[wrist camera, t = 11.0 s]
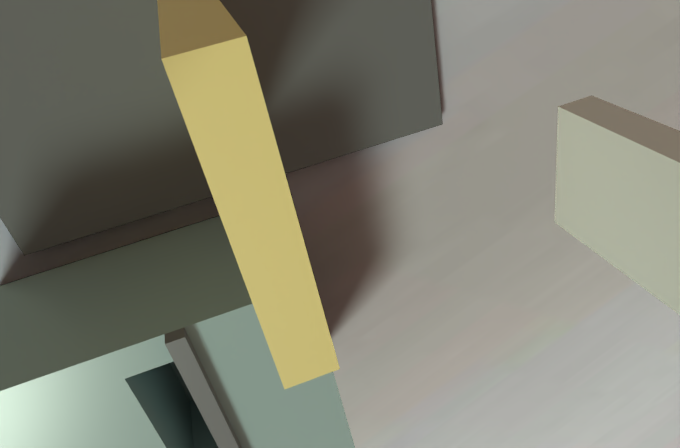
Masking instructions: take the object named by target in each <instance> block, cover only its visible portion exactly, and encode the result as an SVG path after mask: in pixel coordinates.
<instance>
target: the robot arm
mask: <svg viewBox="0 0 680 448" xmlns="http://www.w3.org/2000/svg"><path fill="white" fill-rule="evenodd" d="M555 223H557V224H558V225H559V226H561V227H562V228H563V229H565V230H566V231H567V232H569V233H570V234H571V235H573V236H574V237H575V238H577V239H578V240H579V241H581V242H582V243H583V244H585V245H586V246H587V247H589V248H590V249H591V250H593V251H594V252H596V253H597V254H598V255H600V256H601V257H602V258H604V259H605V260H606V261H608V262H609V263H610V264H612V265H613V266H614V267H616V268H617V269H618V270H620V271H621V272H622V273H624V274H625V275H626V276H628V277H629V278H630V279H632V280H633V281H635V282H636V283H637V284H639V285H640V286H641V287H643V288H644V289H645V290H647V291H648V292H649V293H651V294H652V295H653V296H655V297H656V298H657V299H659V300H660V301H661V302H663V303H664V304H665V305H667V306H668V307H669V308H671V309H672V310H674V311H675V312H676V313H678V314H679V315H680V131H678V130H676V129H673V128H671V127H668V126H666V125H663V124H661V123H658V122H656V121H654V120H651V119H649V118H646V117H644V116H641V115H639V114H636V113H634V112H631V111H629V110H626V109H624V108H621V107H619V106H616V105H614V104H611V103H609V102H606V101H604V100H602V99H599V98H597V97H594V96H589V97H586V98H583V99H580V100H577V101H574V102H571V103H567V104H564V105H561V106H558V128H557V161H556V193H555Z"/></svg>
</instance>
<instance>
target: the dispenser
mask: <svg viewBox="0 0 680 448" xmlns="http://www.w3.org/2000/svg"><path fill="white" fill-rule="evenodd" d="M0 448H355V446H354V443H353V439H352V436H351V432H350V429H349V425H348V422H347V419H346V415H345V412H344V408H343V405H342V401H341V398H340V395H339V391H338V388H337V384H336V381H335V377H334V374H333V372H330V373H328V374H325V375H322V376H320V377H317V378H314V379H312V380H309V381H306V382H304V383H301V384H298V385H296V386H293V387H290V388H288V389H284V387H283V384H282V381H281V379H280V376H279V373H278V371H277V368H276V365H275V363H274V360H273V357H272V355H271V352H270V349H269V347H268V344H267V341H266V338H265V336H264V333H263V330H262V328H261V325H260V322H259V320H258V317H257V314H256V312H255V309H254V306H253V304H252V301H251V298H250V296H249V293H248V290H247V287H246V285H245V282H244V279H243V277H242V274H241V271H240V269H239V266H238V263H237V261H236V258H235V255H234V253H233V250H232V247H231V245H230V242H229V239H228V236H227V234H226V231H225V228H224V226H223V223H222V220H221V218H220V216H217V217H214V218H211V219H208V220H205V221H202V222H199V223H195V224H192V225H189V226H186V227H183V228H180V229H177V230H174V231H170V232H167V233H164V234H161V235H158V236H155V237H152V238H149V239H145V240H142V241H139V242H136V243H133V244H130V245H127V246H124V247H120V248H117V249H114V250H111V251H108V252H105V253H102V254H98V255H95V256H92V257H89V258H86V259H83V260H80V261H77V262H73V263H70V264H67V265H64V266H61V267H58V268H55V269H52V270H48V271H45V272H42V273H39V274H36V275H33V276H30V277H26V278H23V279H20V280H17V281H14V282H11V283H8V284H5V285H1V286H0Z"/></svg>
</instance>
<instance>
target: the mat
mask: <svg viewBox="0 0 680 448" xmlns="http://www.w3.org/2000/svg"><path fill="white" fill-rule="evenodd" d="M220 2H221V3H222V4H223V5H224V7H225V8H226V9H227V11H228V12H229V13H230V15H231V16H232V17H233V19H234V20H235V21H236V23H237V24H238V25H239V27H240V28H241V29H242V30H243V32H244V33H245V34H246V36H247V39H248V43H249V46H250V50H251V54H252V57H253V61H254V64H255V68H256V71H257V75H258V79H259V82H260V86H261V89H262V93H263V96H264V100H265V104H266V107H267V111H268V114H269V118H270V121H271V125H272V129H273V132H274V136H275V139H276V143H277V146H278V150H279V154H280V157H281V161H282V164H283V168H284V172H285V174H286V173H289V172H292V171H295V170H298V169H302V168H305V167H308V166H311V165H314V164H318V163H321V162H324V161H327V160H330V159H334V158H337V157H340V156H343V155H346V154H349V153H353V152H356V151H359V150H362V149H365V148H369V147H372V146H375V145H378V144H381V143H385V142H388V141H391V140H394V139H397V138H400V137H404V136H407V135H410V134H413V133H416V132H420V131H423V130H426V129H429V128H432V127H436V126H439V125H442V124H443V123H442V112H441V102H440V91H439V80H438V70H437V59H436V49H435V38H434V27H433V17H432V6H431V0H220ZM209 197H212V193H211V191H210V188H209V185H208V183H207V180H206V177H205V175H204V172H203V169H202V167H201V164H200V161H199V159H198V156H197V153H196V151H195V148H194V145H193V142H192V140H191V137H190V134H189V132H188V129H187V126H186V124H185V121H184V118H183V116H182V113H181V110H180V108H179V105H178V102H177V100H176V97H175V94H174V91H173V89H172V86H171V83H170V81H169V78H168V75H167V73H166V70H165V67H164V65H163V62H162V59H161V47H160V33H159V18H158V4H157V0H0V218H1V220H2V221H3V223H4V224H5V226H6V227H7V229H8V231H9V232H10V234H11V235H12V237H13V238H14V240H15V241H16V243H17V245H18V246H19V248H20V249H21V251H22V252H23V254H24V255H27V254H31V253H34V252H37V251H40V250H43V249H46V248H50V247H53V246H56V245H59V244H62V243H66V242H69V241H72V240H75V239H78V238H82V237H85V236H88V235H91V234H94V233H98V232H101V231H104V230H107V229H110V228H113V227H117V226H120V225H123V224H126V223H129V222H133V221H136V220H139V219H142V218H145V217H149V216H152V215H155V214H158V213H161V212H164V211H168V210H171V209H174V208H177V207H180V206H184V205H187V204H190V203H193V202H196V201H200V200H203V199H206V198H209Z"/></svg>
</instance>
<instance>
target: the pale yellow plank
mask: <svg viewBox="0 0 680 448" xmlns="http://www.w3.org/2000/svg"><path fill="white" fill-rule="evenodd" d="M157 4H158V18H159V33H160V47H161V59H162V62H163V65H164V67H165V70H166V73H167V75H168V78H169V81H170V83H171V86H172V89H173V91H174V94H175V97H176V100H177V102H178V105H179V108H180V110H181V113H182V116H183V118H184V121H185V124H186V126H187V129H188V132H189V134H190V137H191V140H192V142H193V145H194V148H195V151H196V153H197V156H198V159H199V161H200V164H201V167H202V169H203V172H204V175H205V177H206V180H207V183H208V185H209V188H210V191H211V193H212V196H213V199H214V202H215V204H216V207H217V210H218V212H219V215H220V218H221V220H222V223H223V226H224V228H225V231H226V234H227V236H228V239H229V242H230V245H231V247H232V250H233V253H234V255H235V258H236V261H237V263H238V266H239V269H240V271H241V274H242V277H243V279H244V282H245V285H246V287H247V290H248V293H249V296H250V298H251V301H252V304H253V306H254V309H255V312H256V314H257V317H258V320H259V322H260V325H261V328H262V330H263V333H264V336H265V338H266V341H267V344H268V347H269V349H270V352H271V355H272V357H273V360H274V363H275V365H276V368H277V371H278V373H279V376H280V379H281V381H282V384H283V387H284V389H288V388H290V387H293V386H296V385H298V384H301V383H304V382H306V381H309V380H312V379H314V378H317V377H320V376H322V375H325V374H328V373H330V372H333V371H336V370H338V369H340V368H339V364H338V361H337V357H336V354H335V350H334V347H333V343H332V339H331V336H330V332H329V329H328V325H327V322H326V318H325V314H324V311H323V307H322V304H321V300H320V297H319V293H318V289H317V286H316V282H315V279H314V275H313V272H312V268H311V264H310V261H309V257H308V254H307V250H306V247H305V243H304V239H303V236H302V232H301V229H300V225H299V222H298V218H297V214H296V211H295V207H294V204H293V200H292V197H291V193H290V189H289V186H288V182H287V179H286V175H285V172H284V168H283V164H282V161H281V157H280V154H279V150H278V146H277V143H276V139H275V136H274V132H273V129H272V125H271V121H270V118H269V114H268V111H267V107H266V104H265V100H264V96H263V93H262V89H261V86H260V82H259V79H258V75H257V71H256V68H255V64H254V61H253V57H252V54H251V50H250V46H249V43H248V39H247V36H246V34H245V33H244V32H243V30H242V29H241V28H240V27H239V25H238V24H237V23H236V21H235V20H234V19H233V17H232V16H231V15H230V13H229V12H228V11H227V9H226V8H225V7H224V5H223V4H222V3H221V2H220V0H157Z"/></svg>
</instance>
